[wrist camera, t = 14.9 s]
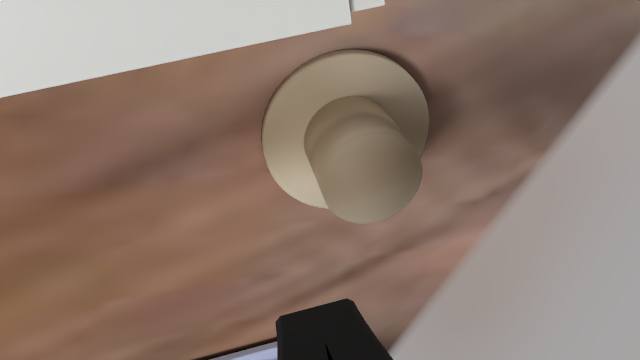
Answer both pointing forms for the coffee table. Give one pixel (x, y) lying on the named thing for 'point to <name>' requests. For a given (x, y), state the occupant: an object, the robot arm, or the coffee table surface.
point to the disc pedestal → (348, 135)
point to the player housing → (139, 34)
